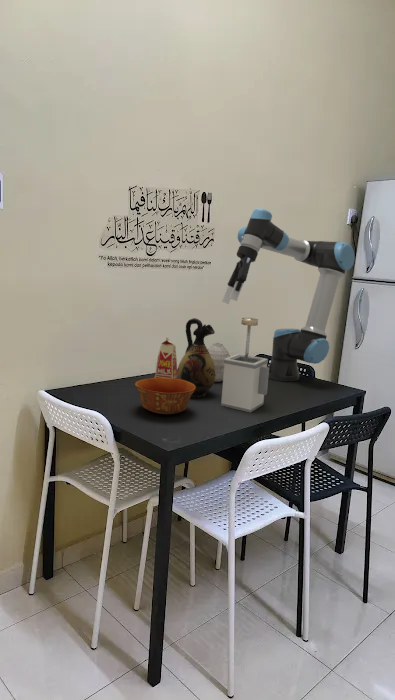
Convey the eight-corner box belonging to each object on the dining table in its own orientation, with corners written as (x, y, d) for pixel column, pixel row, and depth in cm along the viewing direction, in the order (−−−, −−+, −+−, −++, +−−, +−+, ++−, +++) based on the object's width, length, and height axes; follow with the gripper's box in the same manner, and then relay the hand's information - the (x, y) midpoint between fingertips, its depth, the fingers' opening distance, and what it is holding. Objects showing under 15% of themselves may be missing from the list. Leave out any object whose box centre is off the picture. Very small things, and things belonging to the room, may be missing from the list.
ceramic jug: (221, 393, 209) (226, 320, 203) (201, 402, 196) (207, 324, 190) (185, 385, 217) (189, 314, 211) (164, 393, 204) (168, 318, 198)
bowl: (150, 398, 196) (151, 373, 194) (202, 408, 189) (204, 382, 187) (123, 414, 177) (124, 386, 175) (180, 425, 170) (181, 396, 168)
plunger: (238, 371, 199) (243, 316, 195) (261, 375, 195) (266, 319, 191) (228, 375, 191) (232, 318, 187) (251, 380, 187) (256, 321, 183)
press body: (234, 398, 204) (238, 353, 200) (270, 406, 197) (275, 360, 193) (220, 405, 193) (224, 358, 189) (258, 414, 186) (262, 365, 182)
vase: (213, 385, 221) (216, 346, 217) (195, 378, 230) (197, 341, 227) (235, 381, 229) (238, 344, 225) (216, 374, 238) (219, 339, 235)
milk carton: (174, 386, 215) (176, 339, 211) (152, 384, 216) (154, 337, 212) (178, 381, 223) (181, 335, 219) (157, 378, 225) (159, 333, 221)
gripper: (232, 250, 207) (213, 300, 206) (248, 238, 182) (226, 294, 181) (249, 258, 208) (230, 307, 207) (267, 246, 183) (246, 302, 182)
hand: (228, 301), depth 194 cm, fingers open, 13 cm apart
